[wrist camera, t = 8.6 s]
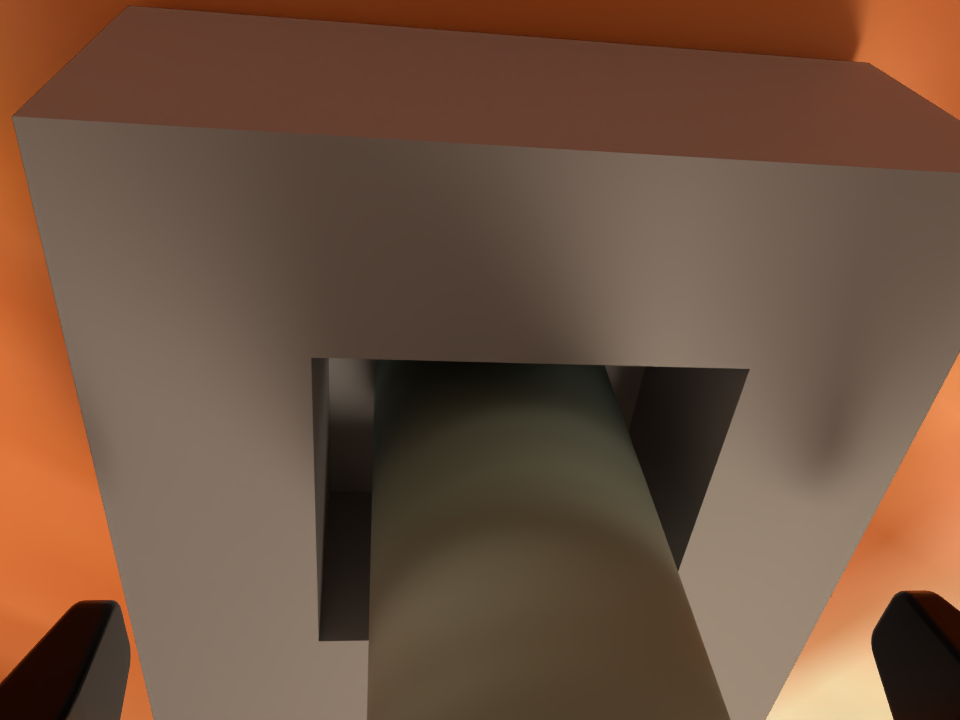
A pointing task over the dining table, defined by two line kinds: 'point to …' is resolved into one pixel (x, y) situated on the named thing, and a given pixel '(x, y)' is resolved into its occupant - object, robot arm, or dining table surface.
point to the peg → (521, 554)
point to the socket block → (478, 310)
